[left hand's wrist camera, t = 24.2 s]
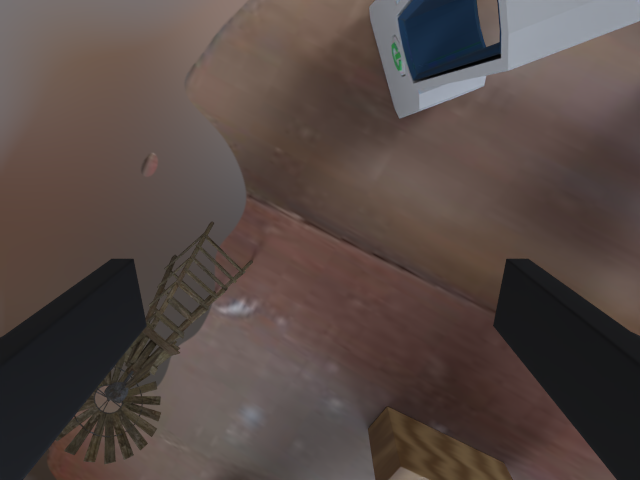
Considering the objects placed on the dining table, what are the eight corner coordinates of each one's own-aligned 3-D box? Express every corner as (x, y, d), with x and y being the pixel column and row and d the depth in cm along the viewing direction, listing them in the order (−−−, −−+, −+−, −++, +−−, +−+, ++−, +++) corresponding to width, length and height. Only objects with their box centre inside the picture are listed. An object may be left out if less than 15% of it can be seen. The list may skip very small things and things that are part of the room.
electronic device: (365, 10, 40) (470, -221, 12) (429, -16, 39) (705, -335, 11) (395, 119, 44) (527, 135, 16) (454, 97, 43) (702, 72, 15)
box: (367, 428, 62) (377, 491, 52) (387, 406, 60) (400, 466, 50) (482, 482, 67) (512, 549, 57) (504, 462, 65) (538, 528, 55)
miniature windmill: (169, 254, 51) (-20, 435, 22) (210, 217, 49) (60, 365, 21) (215, 297, 53) (97, 509, 25) (256, 263, 51) (178, 452, 23)
